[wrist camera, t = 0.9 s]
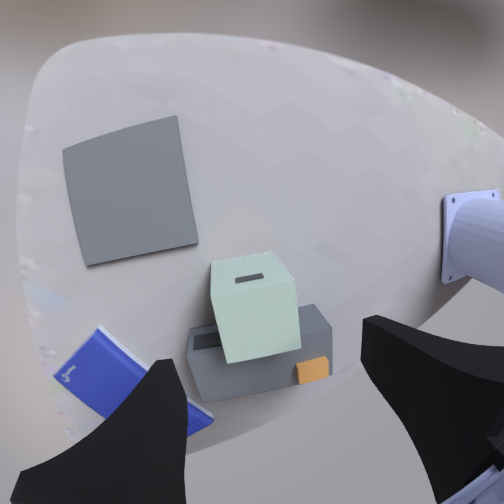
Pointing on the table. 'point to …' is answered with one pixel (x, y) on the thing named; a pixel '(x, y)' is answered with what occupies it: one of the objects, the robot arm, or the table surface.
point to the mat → (130, 192)
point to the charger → (254, 306)
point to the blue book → (112, 377)
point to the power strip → (260, 361)
